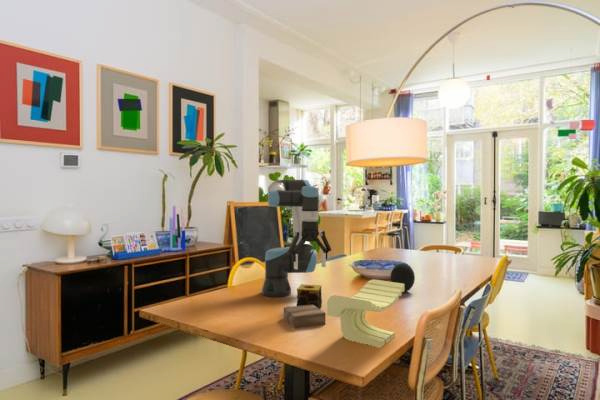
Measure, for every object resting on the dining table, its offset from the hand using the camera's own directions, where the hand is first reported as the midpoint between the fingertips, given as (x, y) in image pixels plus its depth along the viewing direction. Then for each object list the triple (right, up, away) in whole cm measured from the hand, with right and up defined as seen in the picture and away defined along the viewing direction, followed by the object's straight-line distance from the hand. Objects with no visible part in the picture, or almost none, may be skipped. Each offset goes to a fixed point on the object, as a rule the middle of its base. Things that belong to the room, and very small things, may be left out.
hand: (309, 267), depth 178 cm
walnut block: (-3, -19, -17) cm, 26 cm away
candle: (0, -19, 0) cm, 19 cm away
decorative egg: (+50, -18, +32) cm, 62 cm away
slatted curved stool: (+20, -20, -34) cm, 44 cm away
